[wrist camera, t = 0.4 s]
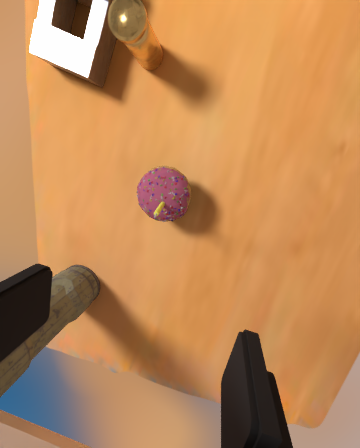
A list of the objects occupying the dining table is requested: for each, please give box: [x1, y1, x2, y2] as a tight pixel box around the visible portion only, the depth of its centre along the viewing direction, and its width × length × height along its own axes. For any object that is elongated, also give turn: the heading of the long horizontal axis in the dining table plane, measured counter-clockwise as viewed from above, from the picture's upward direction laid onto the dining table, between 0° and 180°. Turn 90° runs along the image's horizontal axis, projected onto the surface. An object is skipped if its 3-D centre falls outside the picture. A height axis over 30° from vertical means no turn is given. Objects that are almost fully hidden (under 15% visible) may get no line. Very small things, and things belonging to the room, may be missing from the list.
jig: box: [29, 0, 117, 88], centre depth 33 cm, size 14×10×4 cm
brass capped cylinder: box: [108, 0, 163, 70], centre depth 30 cm, size 5×5×9 cm
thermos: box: [0, 265, 100, 397], centre depth 30 cm, size 9×12×35 cm
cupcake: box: [137, 166, 191, 222], centre depth 33 cm, size 9×8×12 cm
